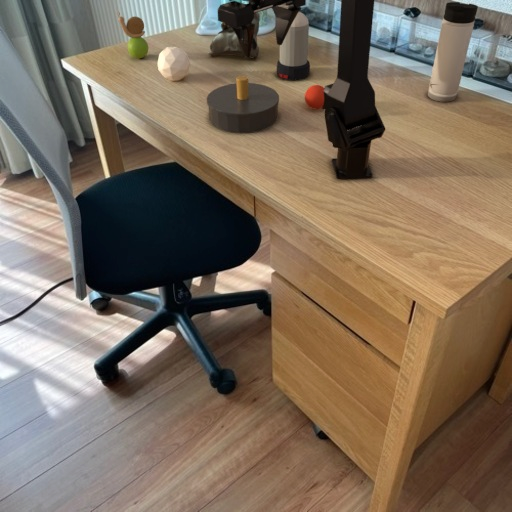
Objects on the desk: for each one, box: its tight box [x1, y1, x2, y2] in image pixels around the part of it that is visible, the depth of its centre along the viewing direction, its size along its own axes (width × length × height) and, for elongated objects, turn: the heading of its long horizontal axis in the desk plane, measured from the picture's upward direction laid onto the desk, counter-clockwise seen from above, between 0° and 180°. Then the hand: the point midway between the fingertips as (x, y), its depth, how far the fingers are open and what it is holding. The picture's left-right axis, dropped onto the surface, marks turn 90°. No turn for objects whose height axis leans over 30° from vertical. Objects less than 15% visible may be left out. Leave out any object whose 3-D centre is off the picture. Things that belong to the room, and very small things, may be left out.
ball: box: [304, 84, 325, 110], centre depth 115 cm, size 5×5×5 cm
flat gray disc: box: [206, 75, 280, 116], centre depth 110 cm, size 15×15×5 cm
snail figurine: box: [116, 11, 149, 59], centre depth 137 cm, size 5×6×12 cm
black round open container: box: [207, 103, 279, 134], centre depth 112 cm, size 15×15×4 cm
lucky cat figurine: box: [206, 6, 261, 59], centre depth 137 cm, size 15×12×14 cm
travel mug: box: [427, 1, 479, 103], centre depth 113 cm, size 6×7×20 cm
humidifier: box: [276, 11, 311, 82], centre depth 123 cm, size 8×8×25 cm
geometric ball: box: [156, 46, 191, 82], centre depth 127 cm, size 8×8×8 cm
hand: (263, 50), depth 106 cm, fingers open, 9 cm apart
